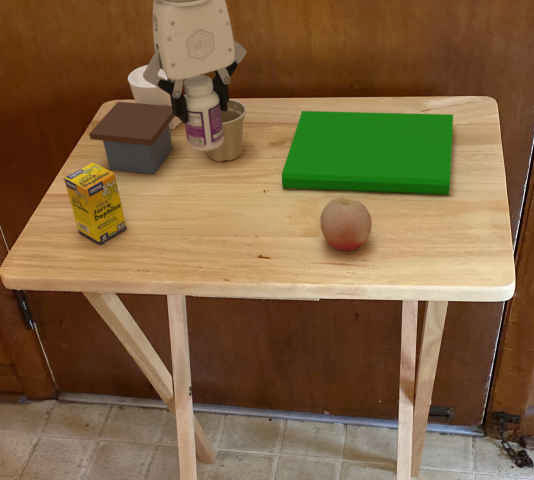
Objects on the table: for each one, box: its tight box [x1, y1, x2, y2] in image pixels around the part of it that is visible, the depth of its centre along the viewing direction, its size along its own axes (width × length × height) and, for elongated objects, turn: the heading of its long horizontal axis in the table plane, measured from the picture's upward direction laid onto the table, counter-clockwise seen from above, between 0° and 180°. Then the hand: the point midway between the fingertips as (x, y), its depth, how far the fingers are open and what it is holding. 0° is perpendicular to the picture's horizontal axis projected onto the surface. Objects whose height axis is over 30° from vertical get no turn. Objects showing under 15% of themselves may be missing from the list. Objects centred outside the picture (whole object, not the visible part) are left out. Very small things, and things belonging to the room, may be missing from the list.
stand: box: [88, 101, 175, 175], centre depth 149 cm, size 12×12×8 cm
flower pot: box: [207, 98, 247, 162], centre depth 148 cm, size 9×9×9 cm
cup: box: [127, 64, 183, 131], centre depth 158 cm, size 10×10×10 cm
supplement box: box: [63, 161, 128, 246], centre depth 132 cm, size 6×6×11 cm
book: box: [281, 110, 454, 196], centre depth 145 cm, size 22×28×3 cm
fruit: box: [319, 197, 373, 252], centre depth 125 cm, size 8×8×8 cm
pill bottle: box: [183, 74, 224, 152], centre depth 116 cm, size 5×5×10 cm
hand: (201, 112), depth 116 cm, fingers closed on pill bottle, 5 cm apart
